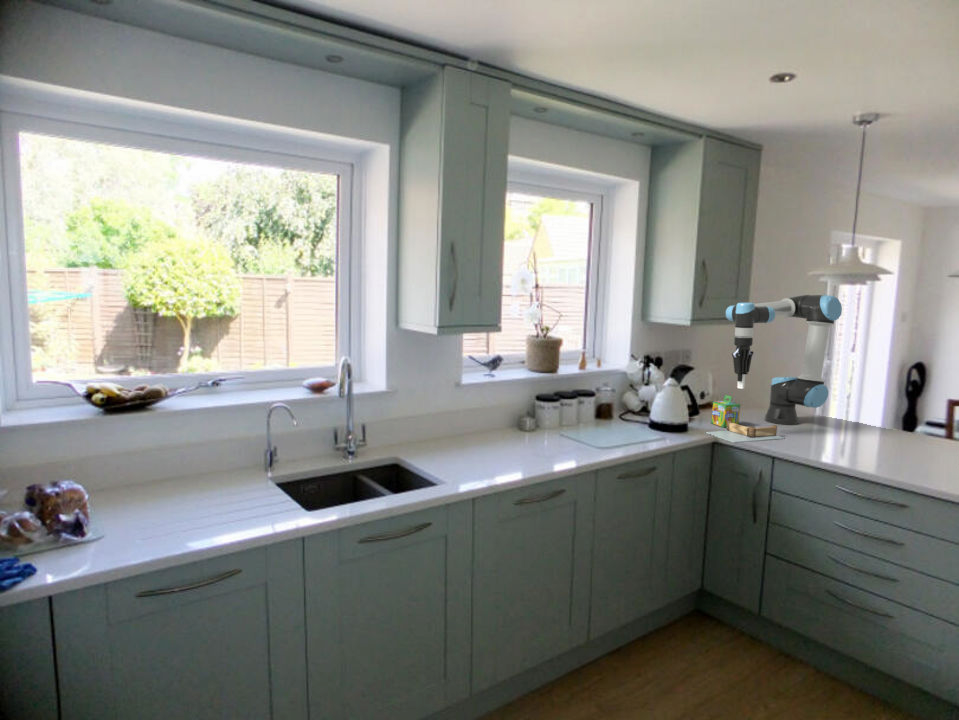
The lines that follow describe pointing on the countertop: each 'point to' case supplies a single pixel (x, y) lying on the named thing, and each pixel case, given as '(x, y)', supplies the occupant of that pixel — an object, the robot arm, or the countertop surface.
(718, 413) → the chalk box
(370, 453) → the countertop surface
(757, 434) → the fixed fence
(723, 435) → the card
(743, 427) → the tan wooden bar
